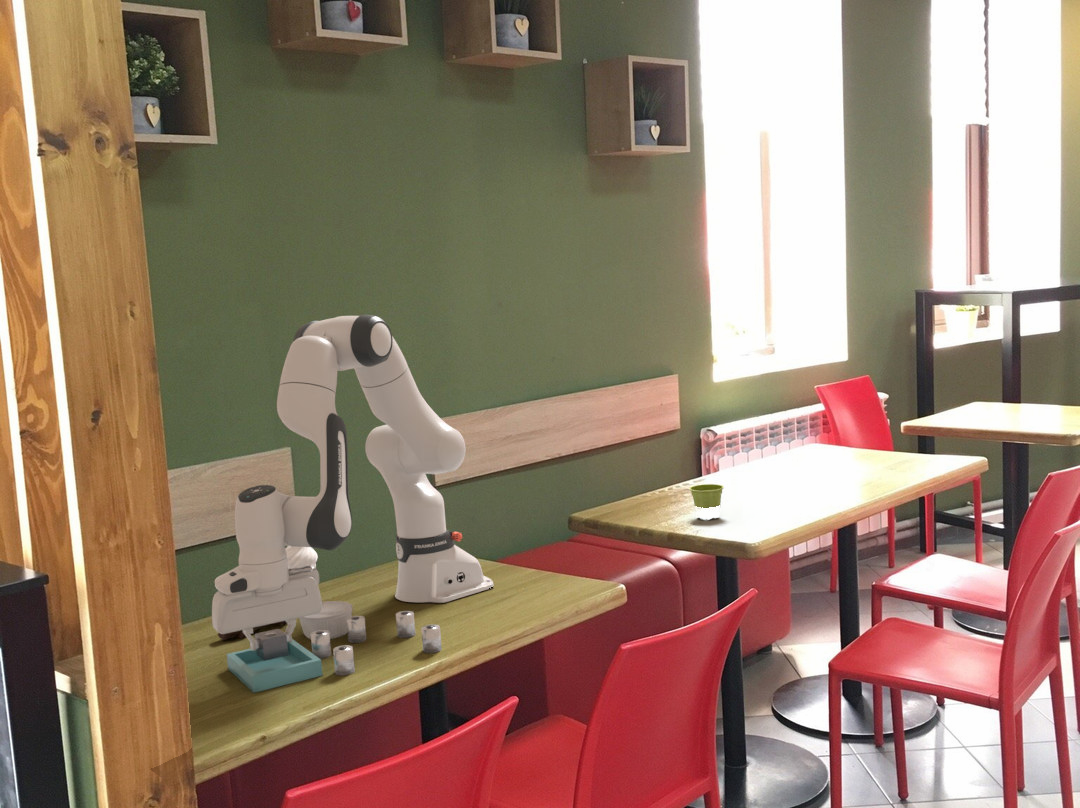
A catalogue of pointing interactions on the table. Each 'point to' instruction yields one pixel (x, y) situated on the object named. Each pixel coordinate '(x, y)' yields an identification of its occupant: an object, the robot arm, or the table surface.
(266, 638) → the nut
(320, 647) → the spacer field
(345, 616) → the ramekin
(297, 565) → the soft serve ice cream cone
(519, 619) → the table surface
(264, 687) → the tray
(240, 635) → the bolt
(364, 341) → the robot arm
